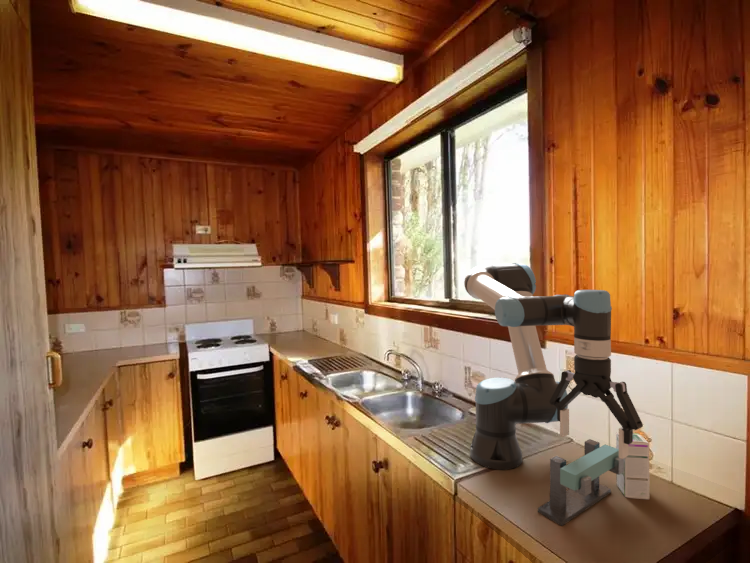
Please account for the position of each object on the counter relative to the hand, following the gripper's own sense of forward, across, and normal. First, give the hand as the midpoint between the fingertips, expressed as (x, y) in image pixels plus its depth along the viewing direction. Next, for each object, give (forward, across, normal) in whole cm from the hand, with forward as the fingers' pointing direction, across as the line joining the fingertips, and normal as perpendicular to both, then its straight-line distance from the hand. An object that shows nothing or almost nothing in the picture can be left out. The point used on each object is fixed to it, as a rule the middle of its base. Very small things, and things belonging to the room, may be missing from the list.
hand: (592, 445), depth 92 cm
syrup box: (+16, +2, +16) cm, 23 cm away
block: (+7, 0, 0) cm, 7 cm away
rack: (+16, -2, 0) cm, 16 cm away
